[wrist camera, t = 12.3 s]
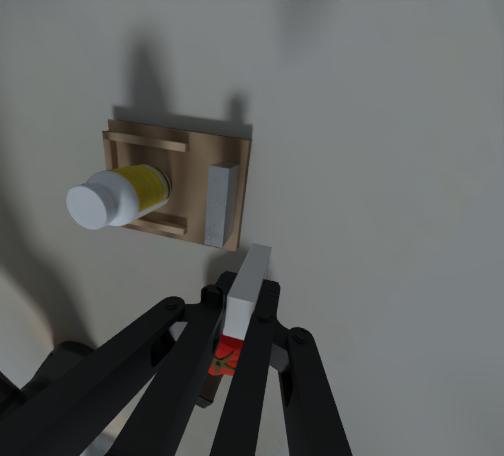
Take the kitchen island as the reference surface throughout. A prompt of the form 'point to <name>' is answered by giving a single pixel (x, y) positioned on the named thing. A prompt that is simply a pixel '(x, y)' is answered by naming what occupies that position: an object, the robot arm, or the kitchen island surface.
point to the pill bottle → (118, 196)
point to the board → (178, 174)
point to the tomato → (226, 356)
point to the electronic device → (208, 390)
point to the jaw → (221, 202)
